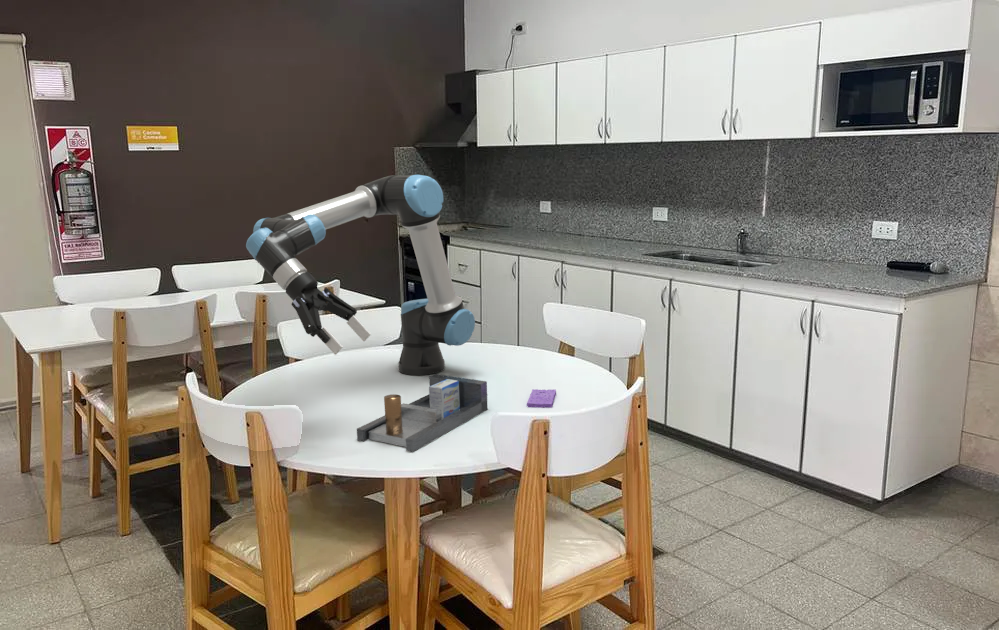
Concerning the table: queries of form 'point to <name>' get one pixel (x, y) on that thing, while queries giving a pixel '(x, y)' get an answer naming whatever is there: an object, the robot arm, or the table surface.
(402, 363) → the robot arm
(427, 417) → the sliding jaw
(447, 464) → the table surface
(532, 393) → the sponges
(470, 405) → the vise frame
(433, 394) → the medicine box
